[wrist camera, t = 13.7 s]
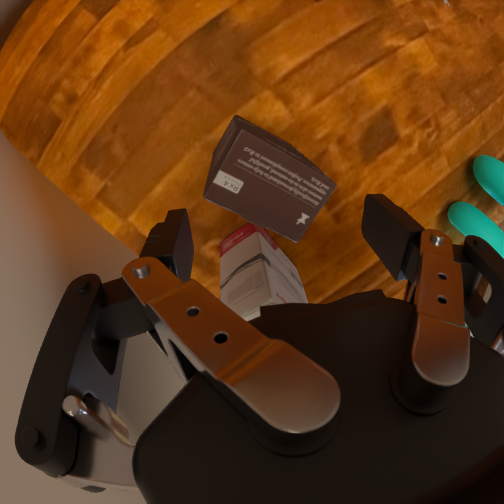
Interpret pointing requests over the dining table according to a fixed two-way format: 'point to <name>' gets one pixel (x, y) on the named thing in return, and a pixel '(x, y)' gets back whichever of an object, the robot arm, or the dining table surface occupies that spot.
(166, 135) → the dining table surface
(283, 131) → the dining table surface
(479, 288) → the mug
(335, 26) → the dining table surface
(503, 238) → the turquoise yo-yo
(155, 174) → the dining table surface
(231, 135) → the box
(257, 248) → the ink box
